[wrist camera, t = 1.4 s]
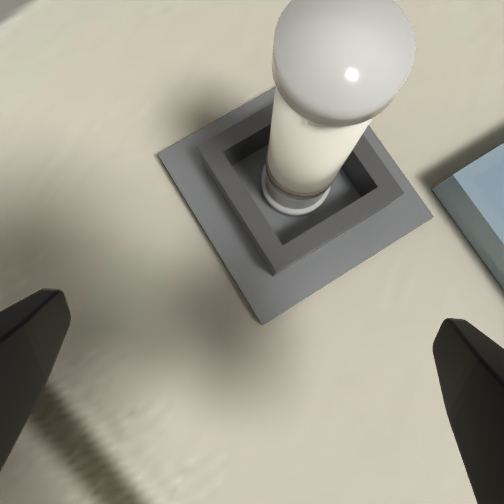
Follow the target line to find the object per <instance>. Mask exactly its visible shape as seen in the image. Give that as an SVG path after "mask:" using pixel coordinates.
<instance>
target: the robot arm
mask: <svg viewBox="0 0 504 504" xmlns="http://www.w3.org/2000/svg"><path fill="white" fill-rule="evenodd" d="M70 320H71V316H70V311H69V308H68V305H67V302H66V298H65V295H64V293H63V292H62V291H61V290H59V289H47V288H46V289H41V290H39V291H37V292H36V293H34V294H32V295H30V296H28V297H26V298H25V299H23V300H21V301H19V302H17V303H15V304H14V305H12V306H10V307H8V308H6V309H4V310H2V311H1V312H0V471H1V469H2V467H3V465H4V463H5V462H6V460H7V458H8V456H9V454H10V452H11V450H12V448H13V446H14V444H15V442H16V441H17V439H18V437H19V435H20V433H21V431H22V429H23V427H24V425H25V423H26V421H27V419H28V418H29V416H30V414H31V412H32V410H33V408H34V406H35V404H36V402H37V400H38V398H39V397H40V395H41V393H42V391H43V389H44V387H45V385H46V383H47V380H48V378H49V376H50V373H51V371H52V368H53V366H54V363H55V361H56V358H57V356H58V353H59V351H60V348H61V345H62V343H63V340H64V338H65V335H66V333H67V330H68V328H69V325H70ZM433 355H434V359H435V364H436V368H437V373H438V377H439V382H440V386H441V391H442V395H443V399H444V404H445V408H446V412H447V415H448V418H449V422H450V425H451V428H452V431H453V433H454V436H455V439H456V442H457V445H458V448H459V451H460V454H461V457H462V460H463V463H464V465H465V468H466V471H467V474H468V477H469V480H470V483H471V486H472V489H473V492H474V495H475V497H476V500H477V503H478V504H504V349H503V348H502V347H501V346H499V345H498V344H497V343H495V342H494V341H493V340H491V339H490V338H489V337H487V336H486V335H485V334H483V333H482V332H481V331H479V330H478V329H477V328H475V327H474V326H473V325H471V324H470V323H469V322H467V321H466V320H463V319H453V318H447V319H445V320H444V321H443V323H442V325H441V327H440V329H439V331H438V333H437V336H436V338H435V340H434V343H433Z"/></svg>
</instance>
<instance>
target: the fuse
mask: <svg viewBox="0 0 504 504" xmlns="http://www.w3.org/2000/svg"><path fill="white" fill-rule="evenodd" d="M415 54H416V40H415V35H414V31H413V28H412V25H411V23H410V21H409V19H408V17H407V15H406V14H405V12H404V11H403V10H402V8H401V7H400V6H399V5H398V4H397V3H396V2H395V1H394V0H292V1H291V2H290V3H289V4H288V5H287V6H286V8H285V9H284V10H283V12H282V14H281V16H280V18H279V20H278V22H277V25H276V29H275V35H274V45H273V56H272V72H273V78H274V82H275V84H276V87H275V95H274V104H273V113H272V121H271V130H270V138H269V146H268V149H267V155H266V163H265V165H264V168H263V171H262V177H261V190H262V194H263V197H264V199H265V201H266V202H267V204H268V205H269V206H270V207H271V208H272V209H273V210H274V211H276V212H277V213H279V214H281V215H284V216H287V217H302V216H306V215H309V214H311V213H313V212H314V211H315V210H317V209H318V208H319V207H320V206H321V204H322V203H323V202H324V200H325V199H326V197H327V195H328V193H329V191H330V187H331V184H332V183H333V181H334V180H335V178H336V177H337V175H338V173H339V170H340V169H341V167H342V165H343V164H344V162H345V161H346V159H347V158H348V156H349V155H350V153H351V151H352V150H353V148H354V147H355V145H356V144H357V142H358V140H359V139H360V137H361V136H362V134H363V133H364V131H365V130H366V128H367V126H368V125H369V123H370V122H371V120H372V119H373V117H375V116H376V115H378V114H379V113H381V112H382V111H383V110H384V109H385V108H386V107H387V106H388V105H389V104H390V102H391V101H392V100H393V98H394V97H395V95H396V94H397V92H398V91H399V89H400V88H401V86H402V85H403V83H404V82H405V80H406V79H407V77H408V76H409V74H410V72H411V69H412V67H413V64H414V60H415Z"/></svg>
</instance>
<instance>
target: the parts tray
mask: <svg viewBox="0 0 504 504" xmlns="http://www.w3.org/2000/svg"><path fill="white" fill-rule="evenodd" d="M432 191H433V192H434V193H435V195H436V196H437V198H438V199H439V200H440V202H441V203H442V205H443V206H444V207H445V209H446V210H447V212H448V213H449V214H450V216H451V217H452V219H453V220H454V221H455V223H456V224H457V226H458V227H459V228H460V230H461V231H462V233H463V234H464V235H465V237H466V238H467V239H468V241H469V242H470V244H471V245H472V246H473V248H474V249H475V251H476V252H477V253H478V255H479V256H480V258H481V259H482V260H483V262H484V263H485V265H486V266H487V267H488V269H489V270H490V272H491V273H492V274H493V276H494V277H495V279H496V280H497V281H498V283H499V284H500V285H501V287H502V288H503V290H504V143H503V144H501V145H499V146H498V147H496V148H495V149H493V150H491V151H490V152H488V153H487V154H485V155H483V156H482V157H480V158H479V159H477V160H475V161H474V162H472V163H471V164H469V165H467V166H466V167H464V168H463V169H461V170H459V171H458V172H456V173H454V174H453V175H451V176H450V177H448V178H447V179H445V180H444V181H442V182H441V183H439V184H438V185H436V186H435V187H433V188H432Z"/></svg>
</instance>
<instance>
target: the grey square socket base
mask: <svg viewBox="0 0 504 504" xmlns="http://www.w3.org/2000/svg"><path fill="white" fill-rule="evenodd" d="M274 95H275V87H274V88H273V89H271V90H269V91H267V92H265V93H264V94H262V95H260V96H258V97H257V98H255V99H253V100H251V101H250V102H248V103H246V104H244V105H242V106H241V107H239V108H237V109H235V110H234V111H232V112H230V113H228V114H227V115H225V116H223V117H221V118H219V119H218V120H216V121H214V122H212V123H211V124H209V125H207V126H205V127H204V128H202V129H200V130H198V131H196V132H195V133H193V134H191V135H189V136H188V137H186V138H184V139H182V140H181V141H179V142H177V143H175V144H173V145H172V146H170V147H168V148H166V149H165V150H163V151H161V152H159V153H158V155H159V157H160V159H161V161H162V162H163V164H164V166H165V167H166V169H167V170H168V172H169V174H170V175H171V177H172V179H173V180H174V182H175V184H176V185H177V187H178V188H179V190H180V192H181V193H182V195H183V197H184V198H185V200H186V201H187V203H188V205H189V206H190V208H191V210H192V211H193V213H194V215H195V216H196V218H197V219H198V221H199V223H200V224H201V226H202V228H203V229H204V231H205V233H206V234H207V236H208V237H209V239H210V241H211V242H212V244H213V246H214V247H215V249H216V251H217V252H218V254H219V255H220V257H221V259H222V260H223V262H224V264H225V265H226V267H227V269H228V270H229V272H230V273H231V275H232V277H233V278H234V280H235V282H236V283H237V285H238V287H239V288H240V290H241V291H242V293H243V295H244V296H245V298H246V300H247V301H248V303H249V305H250V306H251V308H252V309H253V311H254V313H255V314H256V316H257V318H258V319H259V321H260V323H261V324H262V325H264V324H265V323H267V322H268V321H270V320H272V319H273V318H275V317H276V316H278V315H279V314H281V313H283V312H284V311H286V310H287V309H289V308H291V307H292V306H294V305H295V304H297V303H298V302H300V301H302V300H303V299H305V298H306V297H308V296H310V295H311V294H313V293H314V292H316V291H317V290H319V289H321V288H322V287H324V286H325V285H327V284H329V283H330V282H332V281H333V280H335V279H336V278H338V277H340V276H341V275H343V274H344V273H346V272H348V271H349V270H351V269H352V268H354V267H355V266H357V265H359V264H360V263H362V262H363V261H365V260H366V259H368V258H370V257H371V256H373V255H374V254H376V253H378V252H379V251H381V250H382V249H384V248H385V247H387V246H389V245H390V244H392V243H393V242H395V241H397V240H398V239H400V238H401V237H403V236H404V235H406V234H408V233H409V232H411V231H412V230H414V229H416V228H417V227H419V226H420V225H422V224H423V223H425V222H427V221H428V220H430V219H431V218H433V217H434V216H433V215H432V214H431V212H430V211H429V209H428V208H427V206H426V205H425V204H424V202H423V201H422V199H421V198H420V197H419V195H418V194H417V192H416V191H415V190H414V188H413V187H412V185H411V184H410V183H409V181H408V180H407V178H406V177H405V175H404V174H403V173H402V171H401V170H400V168H399V167H398V166H397V164H396V163H395V161H394V160H393V159H392V157H391V156H390V154H389V153H388V152H387V150H386V149H385V147H384V146H383V145H382V143H381V142H380V140H379V139H378V137H377V136H376V135H375V133H374V132H373V130H372V129H371V128H370V126H369V125H368V126H367V128H366V130H365V131H364V133H363V134H362V136H361V137H360V139H359V140H358V142H357V144H356V145H355V147H354V148H353V150H352V151H351V153H350V155H349V156H348V158H347V159H346V161H345V162H344V164H343V165H342V167H341V169H340V170H339V173H338V175H337V177H336V178H335V180H334V181H333V183H332V184H331V187H330V191H329V193H328V195H327V197H326V199H325V200H324V202H323V203H322V204H321V206H320V207H319V208H318V209H317V210H315V211H314V212H313V213H311V214H309V215H306V216H302V217H287V216H284V215H281V214H279V213H277V212H276V211H274V210H273V209H272V208H271V207H270V206H269V205H268V204H267V202H266V201H265V199H264V197H263V194H262V190H261V177H262V171H263V168H264V165H265V163H266V155H267V149H268V146H269V138H270V130H271V121H272V113H273V104H274Z"/></svg>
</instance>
